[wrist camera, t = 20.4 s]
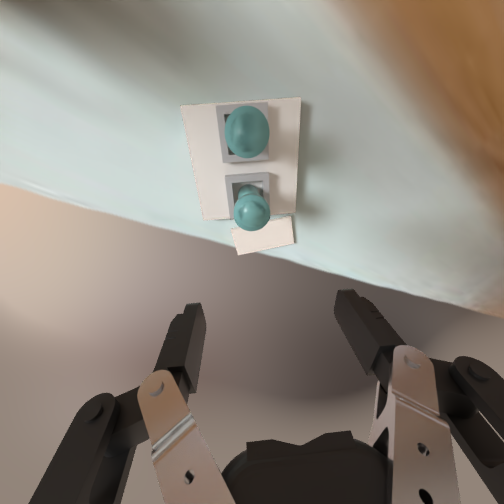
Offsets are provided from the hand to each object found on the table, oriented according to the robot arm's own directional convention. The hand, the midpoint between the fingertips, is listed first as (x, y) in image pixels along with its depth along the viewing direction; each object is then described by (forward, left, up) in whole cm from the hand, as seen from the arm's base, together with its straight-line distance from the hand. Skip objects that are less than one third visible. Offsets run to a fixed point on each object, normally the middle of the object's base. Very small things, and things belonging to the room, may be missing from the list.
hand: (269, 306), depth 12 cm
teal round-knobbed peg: (0, 0, -26) cm, 26 cm away
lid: (+3, -9, -28) cm, 30 cm away
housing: (0, +4, -28) cm, 28 cm away
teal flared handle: (0, +9, -26) cm, 28 cm away
